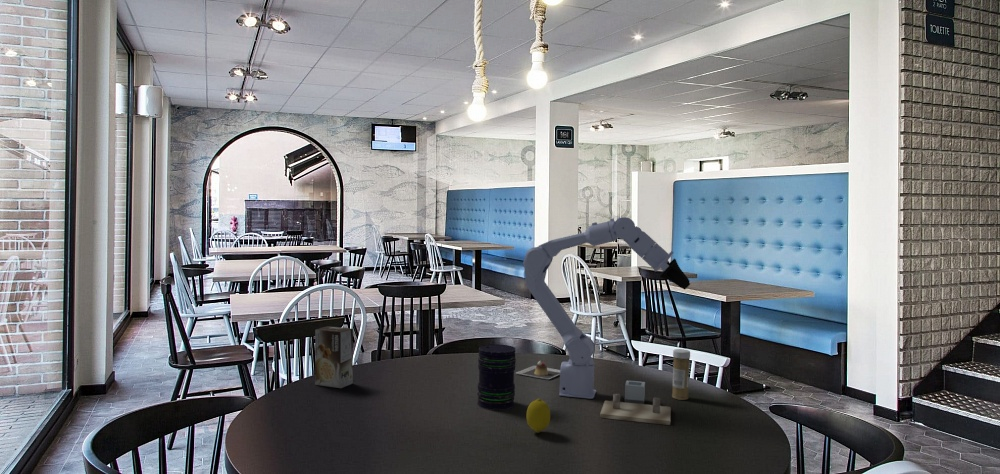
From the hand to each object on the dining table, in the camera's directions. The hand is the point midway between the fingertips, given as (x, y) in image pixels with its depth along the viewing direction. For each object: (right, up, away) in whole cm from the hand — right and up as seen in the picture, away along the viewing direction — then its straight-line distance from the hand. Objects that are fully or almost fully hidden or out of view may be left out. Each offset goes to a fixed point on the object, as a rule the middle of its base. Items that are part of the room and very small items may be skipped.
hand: (687, 285), depth 175 cm
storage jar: (-51, -31, -3) cm, 60 cm away
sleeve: (-14, -32, +3) cm, 35 cm away
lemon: (-41, -33, -24) cm, 58 cm away
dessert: (-37, -31, +31) cm, 57 cm away
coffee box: (-98, -30, +13) cm, 103 cm away
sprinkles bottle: (0, -32, +7) cm, 33 cm away
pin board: (-15, -32, -8) cm, 37 cm away
